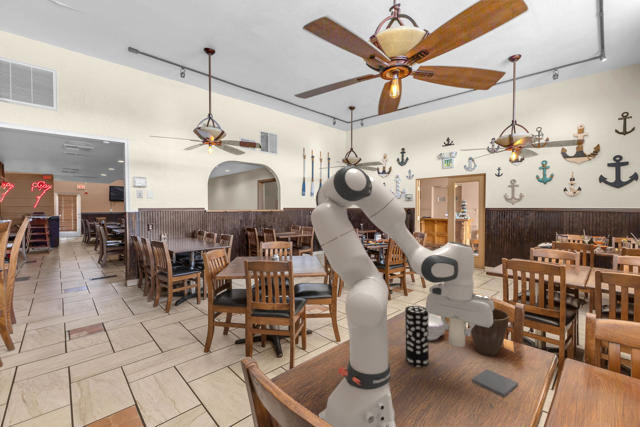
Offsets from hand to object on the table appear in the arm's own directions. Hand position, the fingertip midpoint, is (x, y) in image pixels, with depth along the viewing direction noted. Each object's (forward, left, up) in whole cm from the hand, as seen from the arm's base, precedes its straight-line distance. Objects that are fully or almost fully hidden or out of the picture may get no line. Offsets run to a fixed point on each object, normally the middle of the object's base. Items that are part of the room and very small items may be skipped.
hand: (457, 332), depth 97 cm
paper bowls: (+23, +28, -18) cm, 41 cm away
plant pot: (+30, +5, -18) cm, 35 cm away
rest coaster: (+10, -7, -18) cm, 22 cm away
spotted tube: (+1, +17, -18) cm, 25 cm away
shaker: (0, 0, -4) cm, 4 cm away
